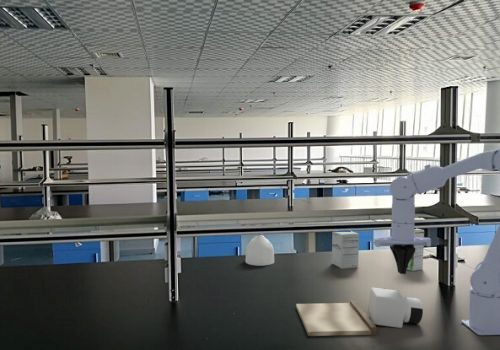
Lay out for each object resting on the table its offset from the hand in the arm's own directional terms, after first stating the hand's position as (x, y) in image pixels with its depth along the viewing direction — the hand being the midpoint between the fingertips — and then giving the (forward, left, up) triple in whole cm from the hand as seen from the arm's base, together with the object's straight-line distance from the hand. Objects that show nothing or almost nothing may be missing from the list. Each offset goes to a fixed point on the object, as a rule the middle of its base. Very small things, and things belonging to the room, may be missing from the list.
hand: (401, 272), depth 116 cm
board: (+20, +5, -10) cm, 23 cm away
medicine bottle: (+10, +6, -6) cm, 14 cm away
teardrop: (+34, -52, -11) cm, 63 cm away
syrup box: (-20, -40, -11) cm, 46 cm away
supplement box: (+3, -45, -11) cm, 46 cm away
